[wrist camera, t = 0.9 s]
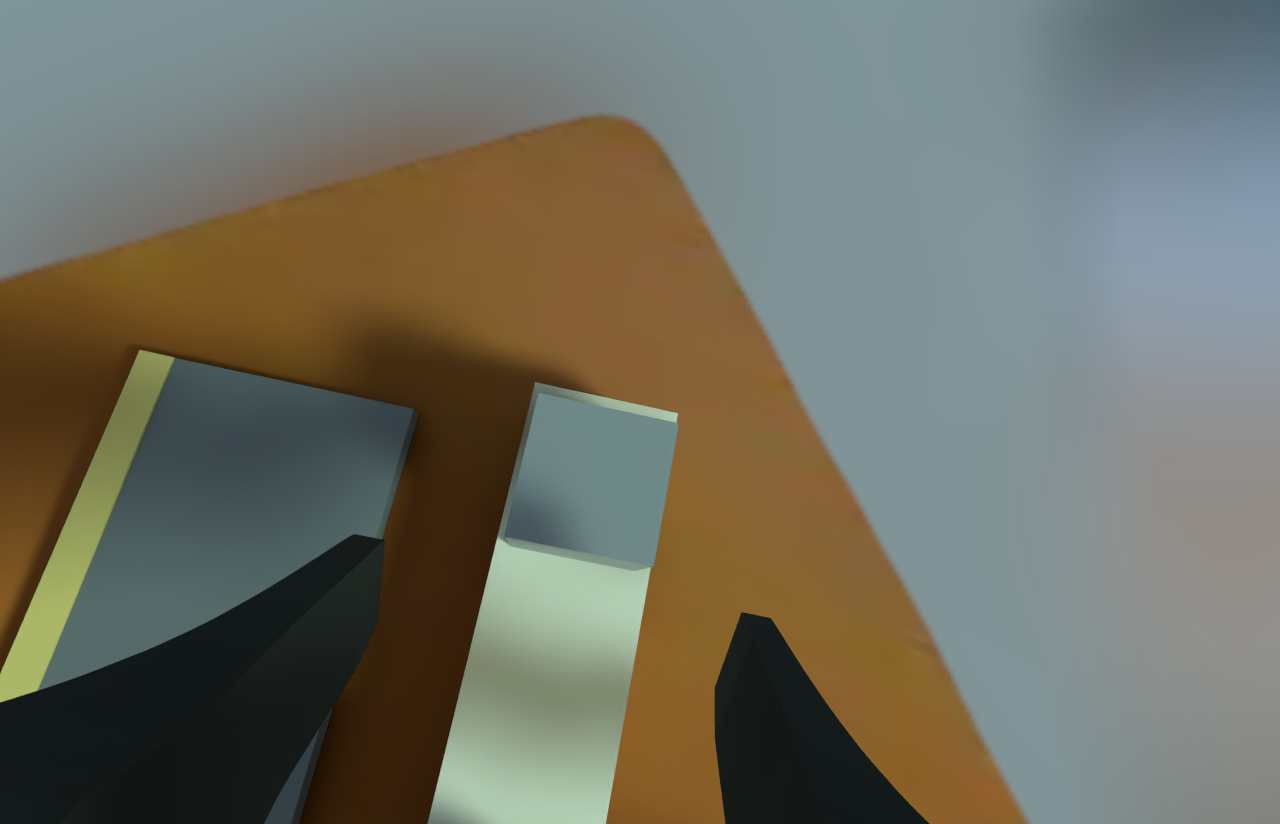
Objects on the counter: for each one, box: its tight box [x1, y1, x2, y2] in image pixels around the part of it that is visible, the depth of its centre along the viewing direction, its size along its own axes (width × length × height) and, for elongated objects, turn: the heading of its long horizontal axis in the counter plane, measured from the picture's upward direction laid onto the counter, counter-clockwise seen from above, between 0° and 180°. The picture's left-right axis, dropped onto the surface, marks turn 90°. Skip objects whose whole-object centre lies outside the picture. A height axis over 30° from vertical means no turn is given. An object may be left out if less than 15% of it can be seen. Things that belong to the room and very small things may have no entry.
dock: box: [0, 350, 418, 824], centre depth 22 cm, size 20×10×1 cm, turn 169°
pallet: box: [428, 382, 678, 824], centre depth 22 cm, size 20×5×4 cm, turn 169°
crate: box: [504, 393, 679, 571], centre depth 20 cm, size 4×4×4 cm
